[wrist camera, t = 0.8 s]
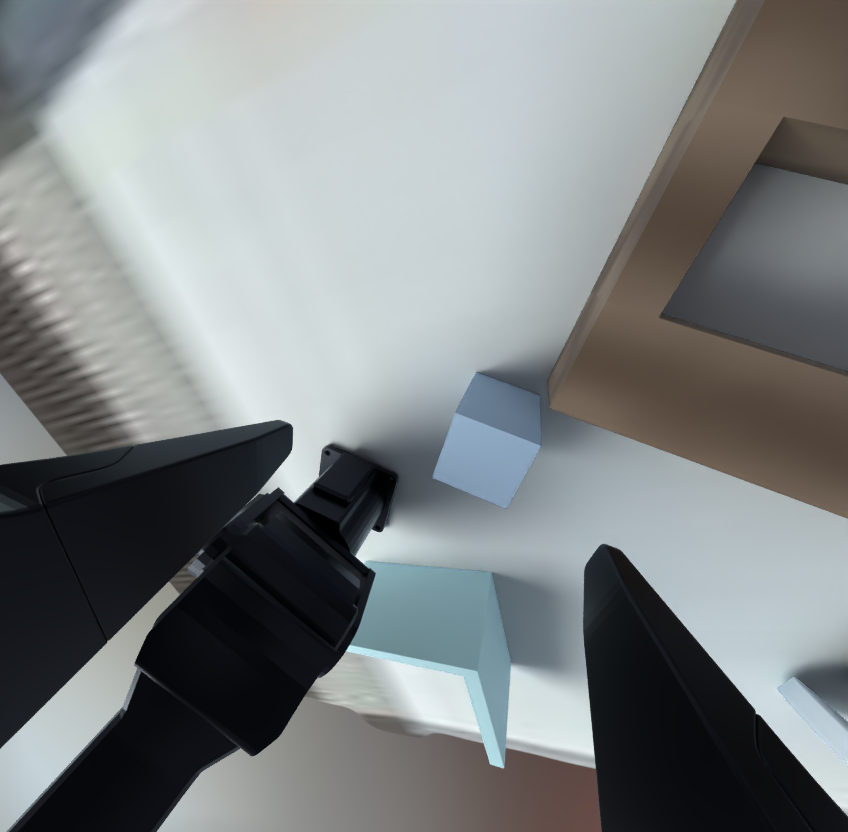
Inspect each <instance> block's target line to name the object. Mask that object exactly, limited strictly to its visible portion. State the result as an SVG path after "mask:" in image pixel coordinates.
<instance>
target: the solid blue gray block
mask: <svg viewBox="0 0 848 832" xmlns="http://www.w3.org/2000/svg"><path fill="white" fill-rule="evenodd" d="M540 447H541V419H540V395H537V394H535V393H532V392H529V391H526V390H524V389H521V388H518V387H515V386H513V385H510V384H507V383H505V382H502V381H499V380H496V379H494V378H491V377H488V376H485V375H483V374H480V373H477V372H476V374H475V376H474V378H473V379H472V381H471V383H470V385H469V387H468V389H467V391H466V393H465V395H464V397H463V399H462V401H461V403H460V405H459V406H458V408H457V410H456V412H455V415H454V418H453V420H452V423H451V426H450V429H449V432H448V434H447V437H446V440H445V443H444V446H443V448H442V451H441V454H440V457H439V460H438V462H437V465H436V468H435V471H434V474H433V476H432V478H434V479H436V480H438V481H441V482H443V483H446V484H448V485H450V486H453V487H455V488H457V489H460V490H462V491H465V492H467V493H469V494H472V495H474V496H476V497H479V498H481V499H484V500H486V501H488V502H491V503H493V504H495V505H498V506H500V507H502V508H505V509H507V507H508V505H509V504H510V502H511V500H512V498H513V496H514V495H515V493H516V491H517V489H518V487H519V485H520V484H521V482H522V480H523V478H524V476H525V475H526V473H527V471H528V469H529V467H530V465H531V464H532V462H533V460H534V458H535V456H536V455H537V453H538V451H539V449H540Z"/></svg>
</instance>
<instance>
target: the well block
mask: <svg viewBox="0 0 848 832" xmlns="http://www.w3.org/2000/svg"><path fill="white" fill-rule="evenodd" d="M754 163H758V164H763V165H767V166H771V167H775V168H780V169H784V170H788V171H792V172H797V173H801V174H805V175H809V176H814V177H818V178H822V179H826V180H831V181H835V182H839V183H843V184H848V0H737V1H736V3H735V5H734V7H733V9H732V11H731V13H730V15H729V17H728V19H727V21H726V23H725V25H724V27H723V29H722V31H721V33H720V35H719V37H718V39H717V41H716V43H715V45H714V47H713V49H712V51H711V53H710V55H709V57H708V59H707V61H706V63H705V65H704V67H703V69H702V71H701V73H700V75H699V77H698V79H697V81H696V83H695V85H694V87H693V89H692V91H691V93H690V95H689V97H688V99H687V101H686V103H685V105H684V107H683V109H682V111H681V113H680V115H679V117H678V119H677V121H676V123H675V125H674V127H673V129H672V131H671V133H670V135H669V137H668V139H667V141H666V143H665V145H664V147H663V149H662V151H661V153H660V155H659V157H658V159H657V161H656V163H655V165H654V167H653V169H652V172H651V174H650V176H649V178H648V180H647V182H646V184H645V186H644V188H643V190H642V192H641V194H640V196H639V198H638V200H637V202H636V204H635V206H634V208H633V210H632V212H631V214H630V216H629V218H628V220H627V222H626V224H625V226H624V228H623V230H622V232H621V234H620V236H619V238H618V240H617V242H616V244H615V246H614V248H613V250H612V252H611V254H610V256H609V258H608V260H607V262H606V264H605V266H604V268H603V270H602V272H601V274H600V276H599V278H598V280H597V282H596V284H595V286H594V288H593V290H592V292H591V294H590V296H589V298H588V300H587V302H586V304H585V306H584V308H583V310H582V312H581V314H580V316H579V318H578V320H577V322H576V324H575V326H574V328H573V330H572V332H571V334H570V336H569V338H568V340H567V342H566V344H565V346H564V348H563V350H562V352H561V354H560V356H559V358H558V360H557V362H556V364H555V366H554V368H553V370H552V372H551V374H550V376H549V378H548V380H547V383H548V395H549V406H550V409H552V410H555V411H558V412H560V413H563V414H566V415H568V416H571V417H574V418H577V419H579V420H582V421H585V422H587V423H590V424H593V425H596V426H598V427H601V428H604V429H606V430H609V431H612V432H615V433H617V434H620V435H623V436H625V437H628V438H631V439H634V440H636V441H639V442H642V443H644V444H647V445H650V446H653V447H655V448H658V449H661V450H663V451H666V452H669V453H672V454H674V455H677V456H680V457H682V458H685V459H688V460H690V461H693V462H696V463H699V464H701V465H704V466H707V467H709V468H712V469H715V470H718V471H720V472H723V473H726V474H728V475H731V476H734V477H737V478H739V479H742V480H745V481H747V482H750V483H753V484H756V485H758V486H761V487H764V488H766V489H769V490H772V491H775V492H777V493H780V494H783V495H785V496H788V497H791V498H794V499H796V500H799V501H802V502H804V503H807V504H810V505H813V506H815V507H818V508H821V509H823V510H826V511H829V512H832V513H834V514H837V515H840V516H842V517H845V518H848V372H847V371H844V370H841V369H837V368H834V367H831V366H828V365H824V364H821V363H818V362H815V361H812V360H808V359H805V358H802V357H799V356H795V355H792V354H789V353H786V352H783V351H779V350H776V349H773V348H770V347H766V346H763V345H760V344H757V343H754V342H750V341H747V340H744V339H741V338H737V337H734V336H731V335H728V334H725V333H721V332H718V331H715V330H712V329H708V328H705V327H702V326H699V325H695V324H692V323H689V322H686V321H683V320H679V319H676V318H673V317H670V316H666V315H663V314H661V313H662V311H663V309H664V308H665V306H666V305H667V303H668V301H669V300H670V298H671V297H672V295H673V293H674V292H675V290H676V289H677V287H678V285H679V284H680V282H681V280H682V279H683V277H684V276H685V274H686V272H687V271H688V269H689V268H690V266H691V264H692V263H693V261H694V260H695V258H696V256H697V255H698V253H699V252H700V250H701V248H702V247H703V245H704V244H705V242H706V240H707V239H708V237H709V236H710V234H711V232H712V231H713V229H714V227H715V226H716V224H717V223H718V221H719V219H720V218H721V216H722V215H723V213H724V211H725V210H726V208H727V207H728V205H729V203H730V202H731V200H732V199H733V197H734V195H735V194H736V192H737V191H738V189H739V187H740V186H741V184H742V183H743V181H744V179H745V178H746V176H747V175H748V173H749V171H750V170H751V168H752V166H753V165H754Z"/></svg>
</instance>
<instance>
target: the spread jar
mask: <svg viewBox="0 0 848 832" xmlns="http://www.w3.org/2000/svg"><path fill="white" fill-rule="evenodd" d="M777 690H778V691H779V693H780V694H781V695H782V697H783V698H784V699H785V700H786V701H787V702H788V704H789V705H790V706H791V707H792V708H793V709H794V710H795V711H796V713H797V714H798V715H799V716H800V717H801V718H802V719H803V720H804V721H805V722H806V723H807V724H808V725H809V726H810V728H811V729H812V730H813V731H814V732H815V733H816V734H817V735H818V736H819V737H820V738H821V739H822V740H823V741H824V742H825V743H826V744H827V745H828V746H829V747H830V748H831V749H832V750H833V751H834V752H835V753H836V754H837V755H838V756H839V757H840V758H841V759H842V760H843V761H844V762H845V763H846V764H847V765H848V722H847V721H846V720H845V719H844V718H843V717H842V716H841V715H840V714H838V713H837V712H836V711H835V710H834V709H833V708H832V707H831V706H829V705H828V704H827V703H826V702H825V701H824V700H823V699H821V698H820V697H819V696H818V695H817V694H816V693H814V692H813V691H812V690H811V689H810V688H809V687H807V686H806V685H805V684H804V683H802V682H801V681H800V680H799V679H797V678H796V677H792V678H791V679H789V680H788V681H786V682H785V683H783V684H782V685H780V686H779V687H777Z"/></svg>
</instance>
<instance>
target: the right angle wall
mask: <svg viewBox="0 0 848 832" xmlns="http://www.w3.org/2000/svg"><path fill="white" fill-rule="evenodd" d="M364 565H365V566H367V567H368V568H371V569H372V570H373V571H374V572H376V575H375V578H374V582H373V585H372V588H371V591H370V594H369V597H368V601H367V604H366V607H365V610H364V613H363V617H362V620H361V623H360V625H359V628H358V630H357V632H356V635H355V637H354V638H353V640H352V642H351V644H350V645H349V647H348V649H347V650H346V651H348V652H353V653H357V654H362V655H367V656H371V657H376V658H381V659H385V660H390V661H395V662H399V663H404V664H409V665H413V666H418V667H423V668H427V669H432V670H437V671H441V672H446V673H451V674H455V675H460V676H464V679H465V683H466V686H467V689H468V692H469V696H470V699H471V702H472V706H473V709H474V712H475V715H476V719H477V722H478V725H479V729H480V732H481V735H482V739H483V742H484V745H485V748H486V751H487V755H488V758H489V762H490V764H491V765H494V766H497V767H501V768H504V763H505V748H506V732H507V717H508V701H509V686H510V670H511V661H510V656H509V652H508V647H507V642H506V637H505V633H504V628H503V623H502V619H501V614H500V609H499V604H498V600H497V595H496V590H495V586H494V581H493V576H492V572H485V571H474V570H463V569H452V568H440V567H429V566H418V565H406V564H395V563H384V562H373V561H366V562H365V564H364Z"/></svg>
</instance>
